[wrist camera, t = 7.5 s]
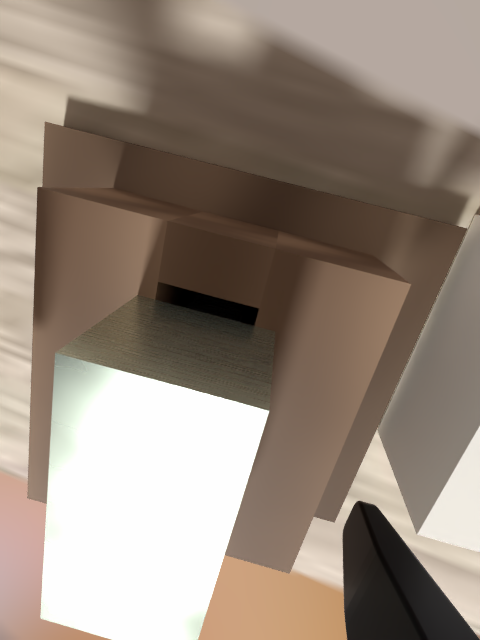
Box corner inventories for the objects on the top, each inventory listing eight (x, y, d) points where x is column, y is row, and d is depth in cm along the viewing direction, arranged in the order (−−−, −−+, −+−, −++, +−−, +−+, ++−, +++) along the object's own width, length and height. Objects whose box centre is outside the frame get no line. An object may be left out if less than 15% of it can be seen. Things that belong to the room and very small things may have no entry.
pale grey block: (278, 294, 12) (269, 410, 6) (232, 454, 15) (190, 662, 8) (176, 267, 12) (54, 353, 6) (148, 430, 15) (40, 618, 8)
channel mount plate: (453, 225, 12) (555, 247, 8) (331, 504, 17) (348, 623, 12) (62, 126, 13) (-67, 90, 8) (46, 424, 17) (-42, 510, 13)
